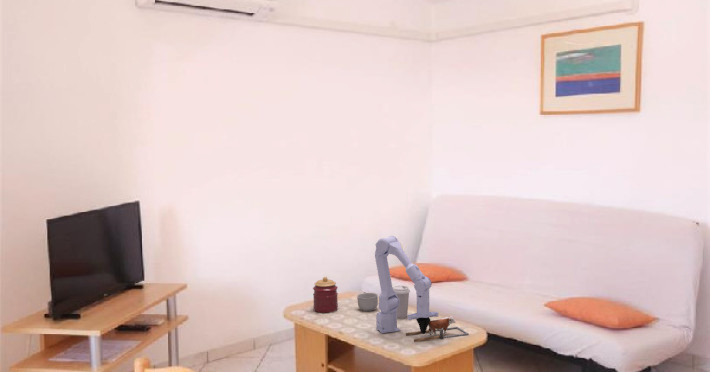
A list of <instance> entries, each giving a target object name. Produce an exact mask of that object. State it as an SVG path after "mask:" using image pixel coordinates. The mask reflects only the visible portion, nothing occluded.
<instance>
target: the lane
mask: <svg viewBox="0 0 710 372" xmlns="http://www.w3.org/2000/svg"><path fill="white" fill-rule="evenodd" d="M442 330H443V329H442ZM448 330H449V331H450V330H458V331H460V332H461V333H459V334H451V335H445V336H444V335H443V339H449V338H456V337H463V336H469V335H470V333H468V332H467V331H465V330H464V329H462V328H460V327H459V326H454V327H452V326H451V327H448V328H447V329H446V331H448ZM443 331H444V330H443ZM436 332H440V329H439V331H438V330H437V329H436Z"/></svg>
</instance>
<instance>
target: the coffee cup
mask: <svg viewBox="0 0 710 372" xmlns="http://www.w3.org/2000/svg"><path fill="white" fill-rule="evenodd" d="M392 288H393V290H394V291H395V292H396V294H397V297H398V298H399V301H400V304H399V306H398V307H397V319H406V318H408V312H409V311H408V310H409V300H410V299H409V298H410V293H411V291H410V288H409V286H407V285H394V286H392Z"/></svg>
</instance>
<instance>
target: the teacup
mask: <svg viewBox="0 0 710 372" xmlns="http://www.w3.org/2000/svg"><path fill="white" fill-rule="evenodd" d="M356 298H357V305H358V308H359V310H362V311H363V312H373V311H374V310H375V309H376V308H377V307H378V306H379V295H378V293H375V292H363V293H359V294H358V295H357V296H356Z"/></svg>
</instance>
